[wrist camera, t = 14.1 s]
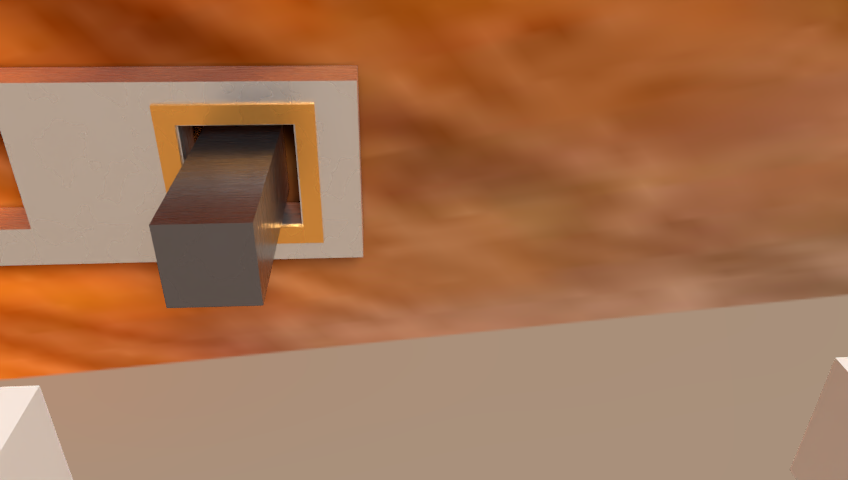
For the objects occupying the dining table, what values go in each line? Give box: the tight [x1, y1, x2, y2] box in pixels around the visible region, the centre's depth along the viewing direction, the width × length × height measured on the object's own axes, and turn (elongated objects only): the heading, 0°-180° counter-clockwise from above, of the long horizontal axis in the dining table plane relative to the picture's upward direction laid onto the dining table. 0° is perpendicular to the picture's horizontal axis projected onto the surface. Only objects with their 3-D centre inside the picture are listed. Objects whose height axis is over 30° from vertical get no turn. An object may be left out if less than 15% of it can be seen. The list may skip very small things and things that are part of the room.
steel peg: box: [149, 125, 289, 308], centre depth 33 cm, size 4×4×11 cm
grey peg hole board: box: [0, 66, 363, 266], centre depth 36 cm, size 10×26×3 cm, turn 89°
